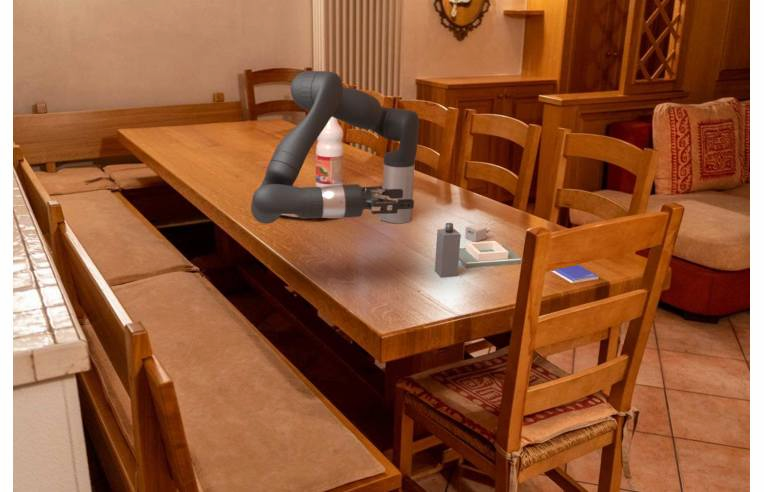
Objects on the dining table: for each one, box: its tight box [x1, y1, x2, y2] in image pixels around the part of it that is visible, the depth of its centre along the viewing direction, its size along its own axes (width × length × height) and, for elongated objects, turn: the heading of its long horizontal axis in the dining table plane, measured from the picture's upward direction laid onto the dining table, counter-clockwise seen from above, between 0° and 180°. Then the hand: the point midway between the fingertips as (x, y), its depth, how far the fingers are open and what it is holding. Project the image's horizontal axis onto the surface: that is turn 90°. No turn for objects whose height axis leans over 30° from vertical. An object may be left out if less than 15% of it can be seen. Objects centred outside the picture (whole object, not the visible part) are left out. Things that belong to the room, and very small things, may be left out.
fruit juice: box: [315, 117, 344, 187], centre depth 235 cm, size 9×9×28 cm
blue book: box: [551, 264, 600, 284], centre depth 175 cm, size 2×8×12 cm
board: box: [459, 240, 523, 269], centre depth 182 cm, size 16×11×3 cm
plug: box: [434, 222, 462, 278], centre depth 169 cm, size 5×4×13 cm
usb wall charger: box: [464, 223, 491, 242], centre depth 196 cm, size 4×7×4 cm, turn 130°
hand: (407, 198), depth 161 cm, fingers open, 8 cm apart
